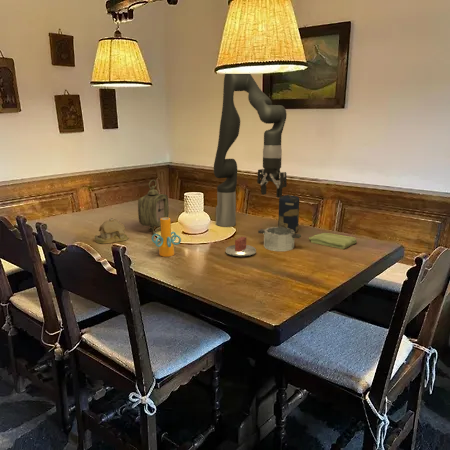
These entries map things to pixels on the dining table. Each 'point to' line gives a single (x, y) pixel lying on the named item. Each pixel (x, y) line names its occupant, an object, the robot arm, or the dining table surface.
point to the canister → (289, 212)
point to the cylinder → (166, 238)
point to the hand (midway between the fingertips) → (271, 195)
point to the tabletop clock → (152, 208)
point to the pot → (279, 238)
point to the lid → (240, 248)
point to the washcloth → (333, 240)
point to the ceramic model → (111, 232)
